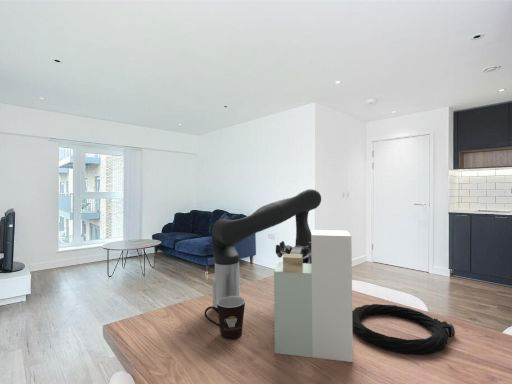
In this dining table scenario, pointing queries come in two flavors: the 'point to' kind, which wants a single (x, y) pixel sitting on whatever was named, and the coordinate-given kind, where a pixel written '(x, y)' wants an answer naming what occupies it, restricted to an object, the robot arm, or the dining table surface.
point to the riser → (317, 301)
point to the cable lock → (397, 344)
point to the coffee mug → (229, 316)
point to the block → (293, 261)
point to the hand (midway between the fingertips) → (296, 244)
